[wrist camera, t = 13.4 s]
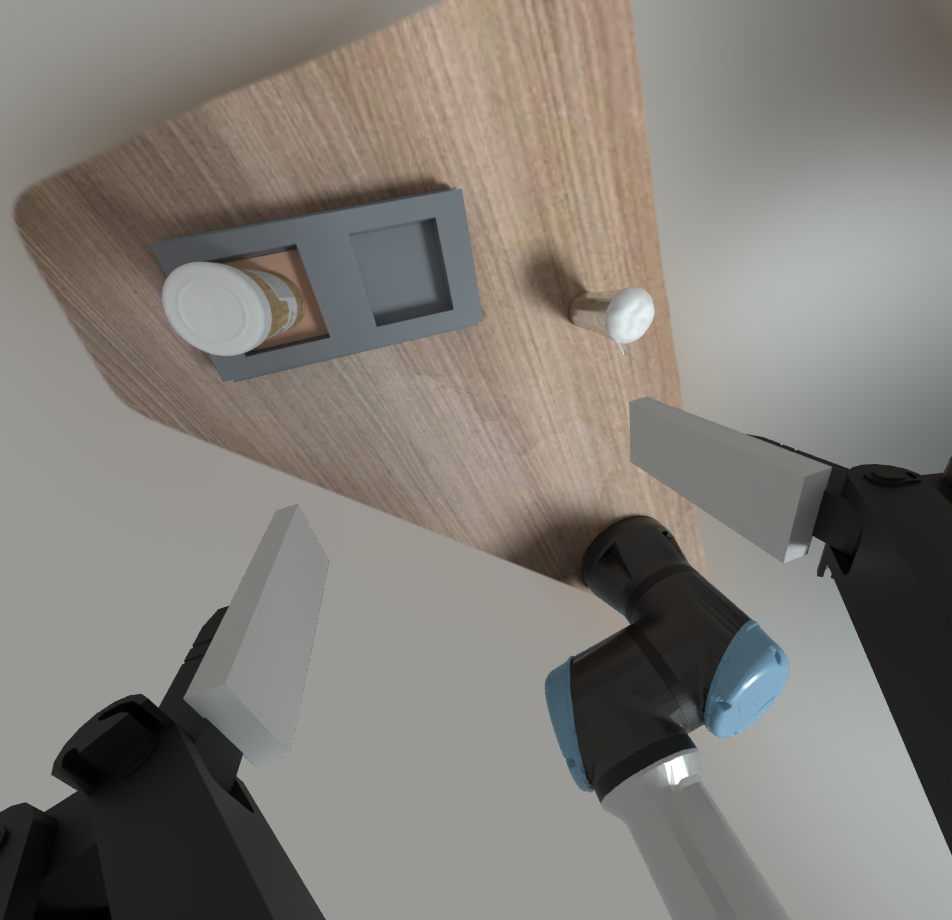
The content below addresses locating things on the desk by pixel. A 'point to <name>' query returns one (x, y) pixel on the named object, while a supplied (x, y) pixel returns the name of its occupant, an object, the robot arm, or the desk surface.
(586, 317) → the milkshake
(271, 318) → the sprinkles bottle
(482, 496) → the desk surface
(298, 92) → the desk surface
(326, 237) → the two-pocket grey tray
